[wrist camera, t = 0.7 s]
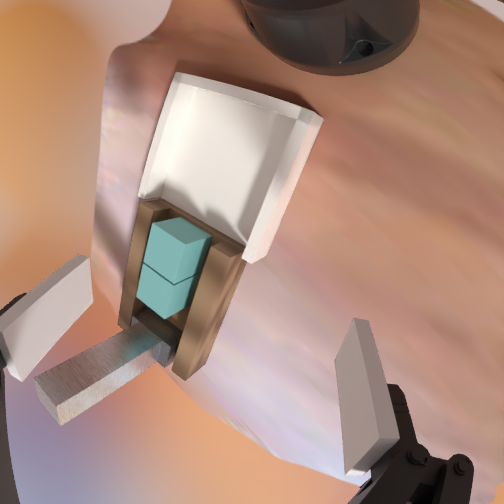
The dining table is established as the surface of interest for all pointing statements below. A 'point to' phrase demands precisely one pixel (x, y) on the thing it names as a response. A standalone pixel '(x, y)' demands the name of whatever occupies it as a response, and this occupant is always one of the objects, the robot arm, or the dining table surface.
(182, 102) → the tray
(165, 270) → the teal cube
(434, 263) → the dining table surface
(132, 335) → the brushed metal bar
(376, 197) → the dining table surface
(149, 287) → the teal block
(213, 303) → the channel
